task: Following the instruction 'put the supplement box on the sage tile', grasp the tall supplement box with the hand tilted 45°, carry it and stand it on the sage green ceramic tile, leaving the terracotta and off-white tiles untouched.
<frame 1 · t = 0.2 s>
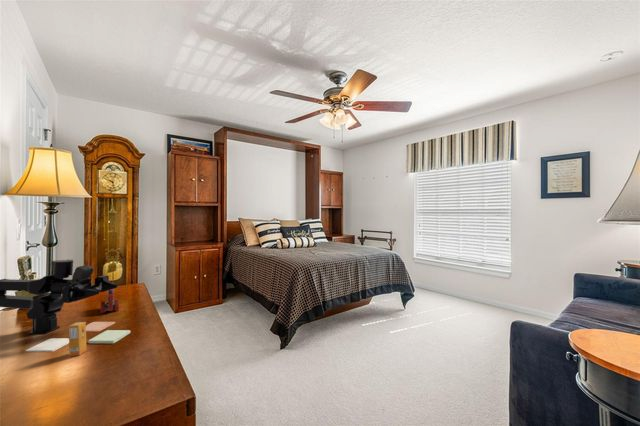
hand: (108, 289, 110), 17 cm above the table, tool horizontal, fingers open, 9 cm apart
white tile: (51, 346, 99), on the table
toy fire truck: (109, 310, 135), on the table
supplement box: (77, 354, 93), on the table
sage tile: (110, 337, 105), on the table
terracotta tile: (96, 328, 115), on the table
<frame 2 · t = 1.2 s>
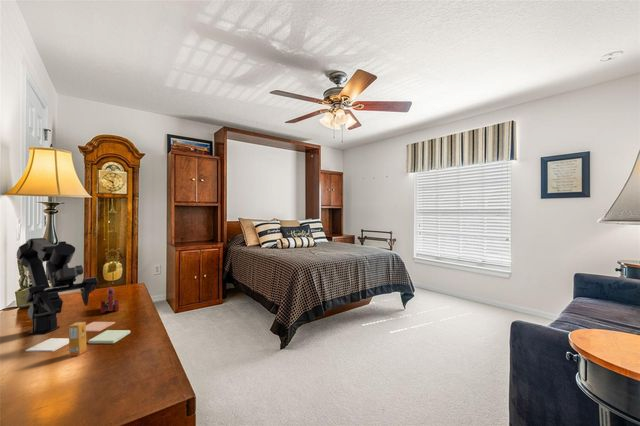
hand: (70, 308, 97), 13 cm above the table, tool tilted 45°, fingers open, 9 cm apart
nothing on the table moved.
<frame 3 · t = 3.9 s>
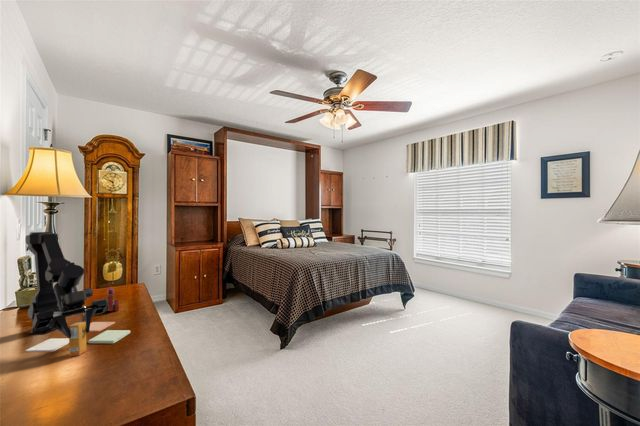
hand: (79, 334, 93), 7 cm above the table, tool tilted 45°, fingers closed on supplement box, 4 cm apart
supplement box: (77, 354, 93), on the table, touching gripper
everything else where it was.
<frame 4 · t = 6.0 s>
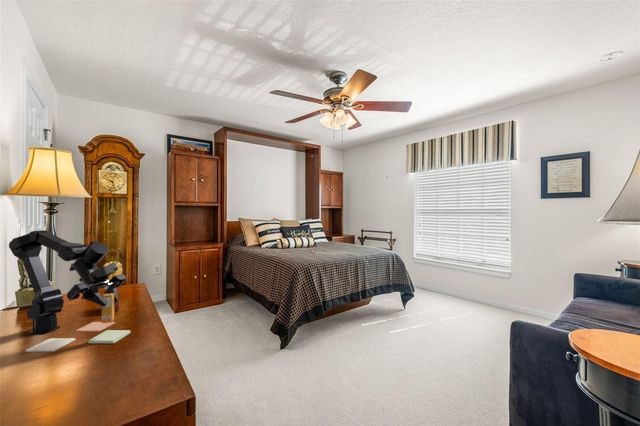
hand: (111, 303, 104), 13 cm above the table, tool tilted 45°, fingers closed on supplement box, 4 cm apart
supplement box: (107, 322, 104), point 6 cm above the table, touching gripper
everything else where it was.
when the fingers open (8 cm above the table, at t = 8.0 s): supplement box stays where it is, resting on sage tile.
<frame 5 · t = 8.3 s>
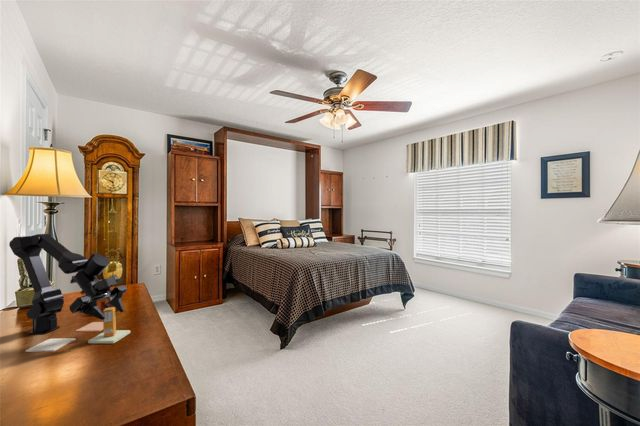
hand: (113, 315, 105), 9 cm above the table, tool tilted 45°, fingers open, 7 cm apart
supplement box: (109, 335, 105), point 1 cm above the table, touching sage tile
everything else where it was.
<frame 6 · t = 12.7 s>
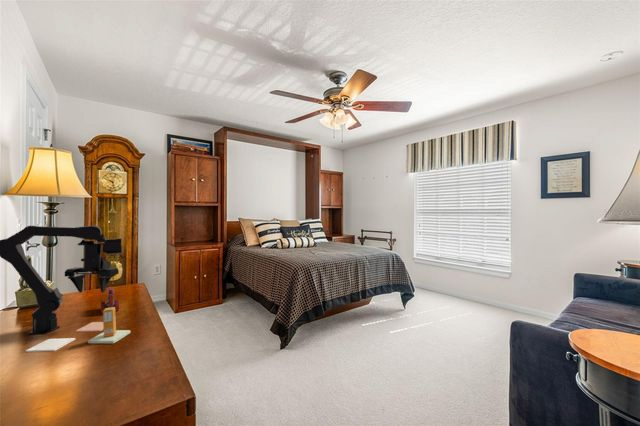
hand: (91, 292, 119), 13 cm above the table, tool pointing down, fingers open, 9 cm apart
nothing on the table moved.
at the end: supplement box 0.2 cm off-centre on the sage tile, point 0.8 cm above the sage tile's base; supplement box tilted 0°; terracotta tile moved 0.6 cm from its start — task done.
